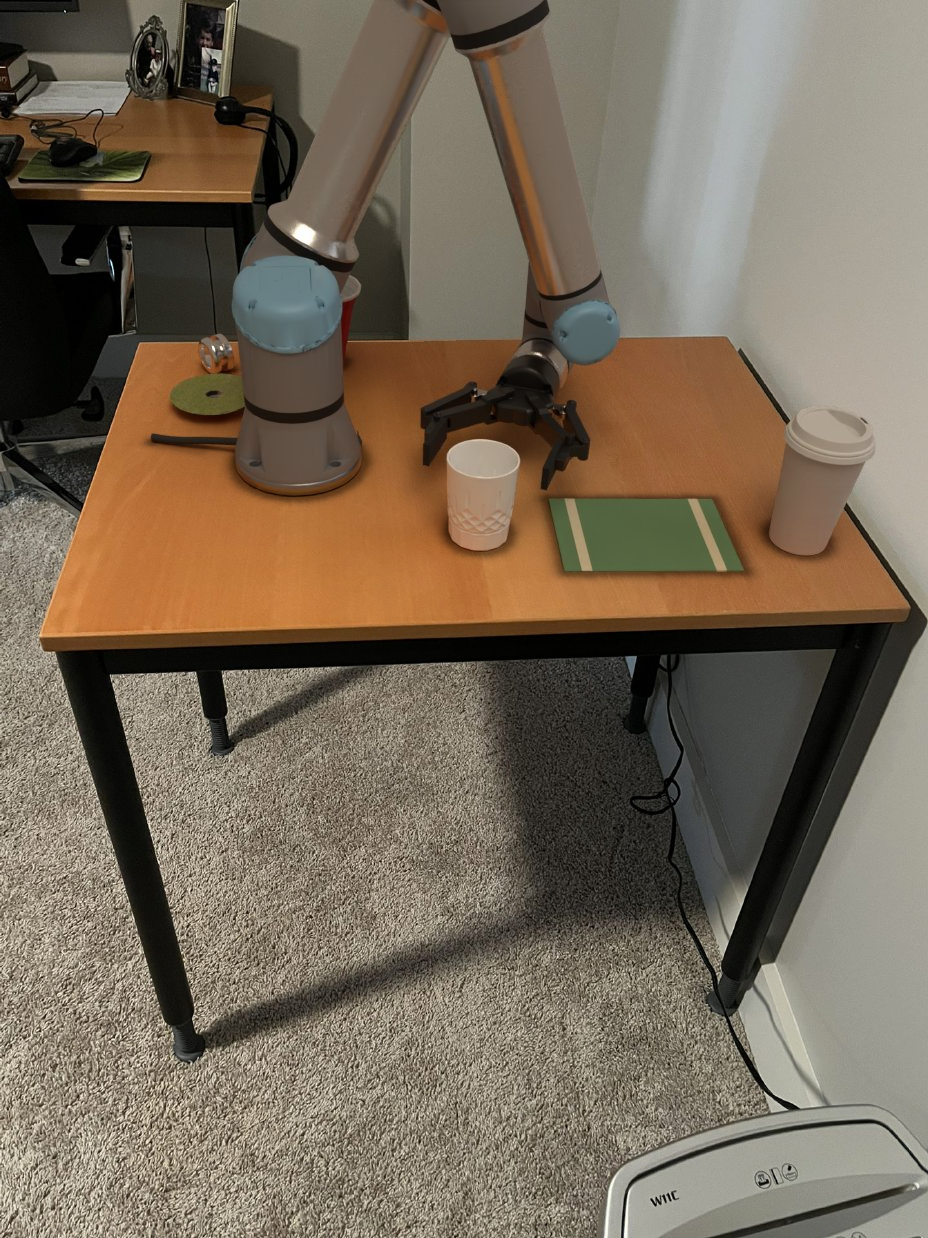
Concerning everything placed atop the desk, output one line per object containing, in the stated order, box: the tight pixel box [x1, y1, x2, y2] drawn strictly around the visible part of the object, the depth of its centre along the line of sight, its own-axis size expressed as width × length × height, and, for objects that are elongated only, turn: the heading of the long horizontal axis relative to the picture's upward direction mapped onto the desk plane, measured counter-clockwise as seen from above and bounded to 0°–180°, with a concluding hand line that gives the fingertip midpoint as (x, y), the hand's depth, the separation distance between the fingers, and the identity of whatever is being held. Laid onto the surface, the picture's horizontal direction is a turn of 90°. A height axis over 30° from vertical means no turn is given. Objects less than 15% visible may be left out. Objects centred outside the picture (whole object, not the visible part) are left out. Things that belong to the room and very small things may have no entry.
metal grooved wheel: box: [197, 333, 235, 374], centre depth 138 cm, size 5×3×5 cm, turn 41°
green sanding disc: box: [169, 372, 245, 416], centre depth 131 cm, size 11×11×2 cm
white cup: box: [446, 438, 521, 552], centre depth 109 cm, size 8×8×10 cm
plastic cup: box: [340, 274, 362, 364], centre depth 139 cm, size 11×11×12 cm
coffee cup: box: [768, 405, 876, 556], centre depth 109 cm, size 10×10×15 cm
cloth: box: [548, 498, 745, 573], centre depth 114 cm, size 20×14×1 cm
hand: (484, 467), depth 109 cm, fingers open, 13 cm apart
